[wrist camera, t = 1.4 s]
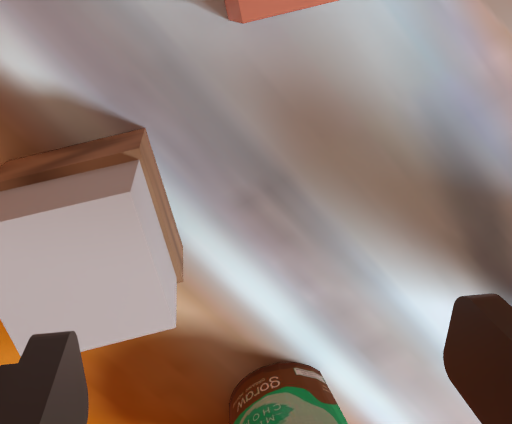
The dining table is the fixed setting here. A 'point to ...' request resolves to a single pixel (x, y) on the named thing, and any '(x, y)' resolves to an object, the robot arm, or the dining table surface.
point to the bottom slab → (98, 157)
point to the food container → (284, 397)
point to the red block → (265, 8)
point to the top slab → (85, 259)
